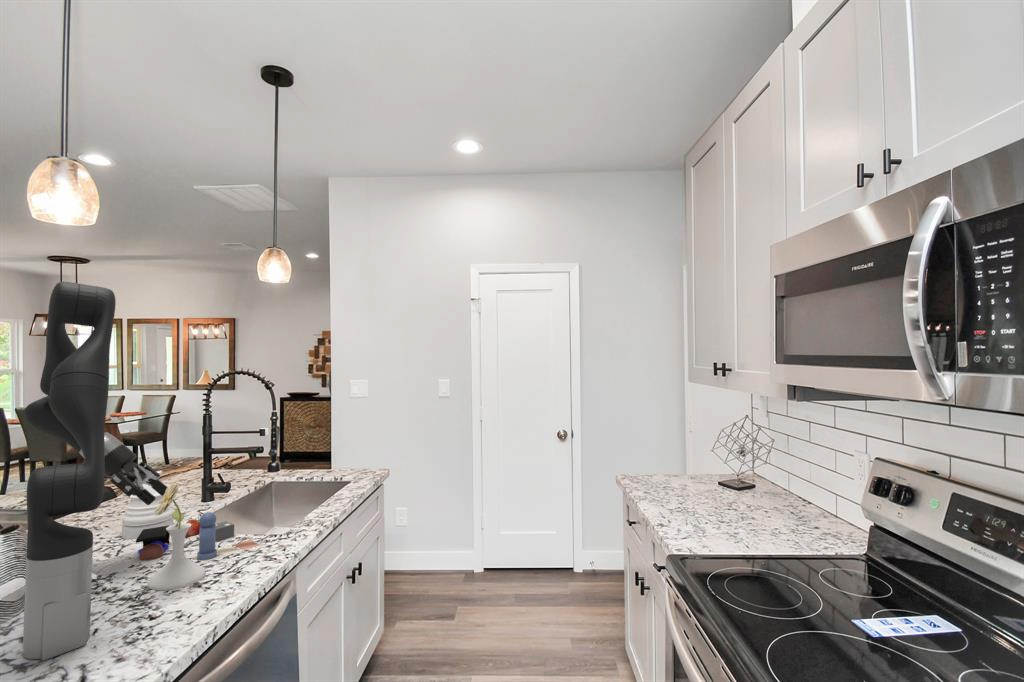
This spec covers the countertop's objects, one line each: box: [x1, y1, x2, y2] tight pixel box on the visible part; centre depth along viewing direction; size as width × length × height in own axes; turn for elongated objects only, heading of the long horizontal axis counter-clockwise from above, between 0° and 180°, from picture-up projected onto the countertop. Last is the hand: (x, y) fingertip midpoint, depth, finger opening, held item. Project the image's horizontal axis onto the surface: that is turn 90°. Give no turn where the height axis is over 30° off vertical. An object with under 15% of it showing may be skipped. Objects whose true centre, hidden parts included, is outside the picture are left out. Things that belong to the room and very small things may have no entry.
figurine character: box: [135, 525, 171, 562], centre depth 134 cm, size 7×8×15 cm
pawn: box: [196, 511, 218, 561], centre depth 130 cm, size 4×4×12 cm
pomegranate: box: [185, 519, 201, 539], centre depth 148 cm, size 6×6×8 cm
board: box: [191, 539, 261, 564], centre depth 134 cm, size 8×16×2 cm, turn 146°
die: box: [215, 520, 235, 543], centre depth 144 cm, size 5×5×5 cm
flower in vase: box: [147, 481, 207, 592], centre depth 116 cm, size 13×11×25 cm
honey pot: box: [121, 470, 174, 540], centre depth 154 cm, size 13×13×18 cm
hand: (159, 497), depth 127 cm, fingers open, 8 cm apart
